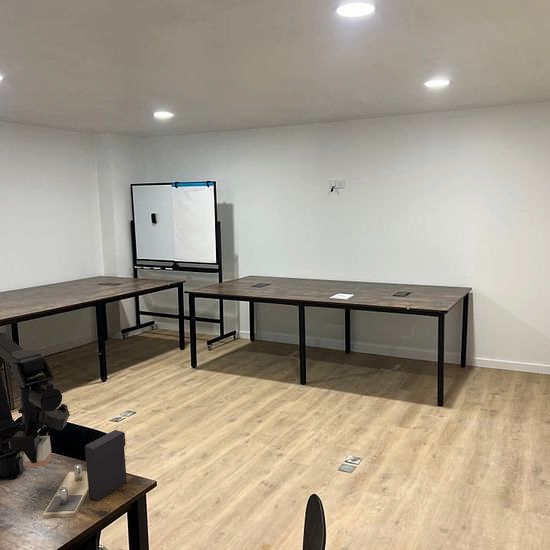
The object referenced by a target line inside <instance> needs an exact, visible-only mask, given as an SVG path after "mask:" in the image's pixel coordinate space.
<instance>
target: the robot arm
mask: <svg viewBox="0 0 550 550" xmlns="http://www.w3.org/2000/svg"><path fill="white" fill-rule="evenodd" d="M5 361H6V362H7V364H9V365H10V366H11V368H10V369H11V371H10V372H11V373H12V376H14V379H15V382H16V383H15V384H17V385H18V389H19V391H18V392H19V400H20V407H19V408H18V409H17V412H18V414H21V419H22V422H21V423H18V422H17V421H16V420H14V418H13V415H12V410H11V406H10V402H9V398H8V394H7V390H6V385H5V380H4V378H3V373H2V368H3V365H4V362H5ZM53 380H54V376H53V371H52V369H51V366H50V365H49V363H48V361H47V360H46V358H45V356H43V355H42V353H40V352H37V351H36V350H28V349H27V350H26V349H24V347H22V346H20V345H19V344H17V343H16V342H15V341H13V340H12V339H11V338H10V337H8V334H7V333H6V332H2V331H0V481H2V480H15V479H17V478H18V477H19V475H20V474H21V473H22V472H23V470H24V469H25V465H24V461H23V459H24V458H23V456H21V453H22V452H23V454H24V453H25V455H26V456H27V457H28V459H29V460H30V461H31V463H36V462H37V452H38V444H39V443H40V442H41V441H42V439H43V438H40V436H49V435H48V434H49V432H50V431H51V430H52V429H55V430H56V431H63V429H64V428H65V426H66V425H67V423H68V420H69V417H70V416H71V414H70V411H69V407H68V404H64V403H62V402H63V394H62V392H61V391H60V389H58V388H56V387H54V383H52V382H49V381H53Z"/></svg>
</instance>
